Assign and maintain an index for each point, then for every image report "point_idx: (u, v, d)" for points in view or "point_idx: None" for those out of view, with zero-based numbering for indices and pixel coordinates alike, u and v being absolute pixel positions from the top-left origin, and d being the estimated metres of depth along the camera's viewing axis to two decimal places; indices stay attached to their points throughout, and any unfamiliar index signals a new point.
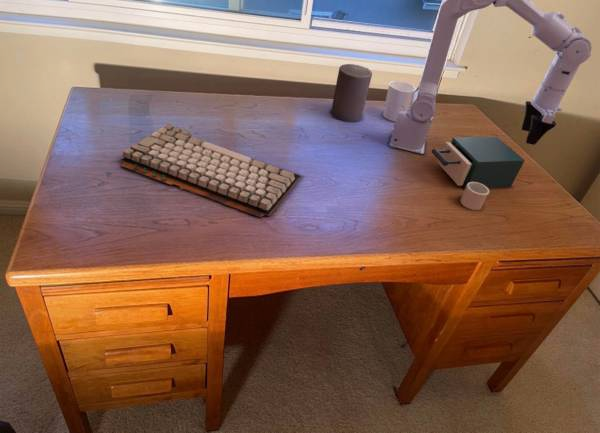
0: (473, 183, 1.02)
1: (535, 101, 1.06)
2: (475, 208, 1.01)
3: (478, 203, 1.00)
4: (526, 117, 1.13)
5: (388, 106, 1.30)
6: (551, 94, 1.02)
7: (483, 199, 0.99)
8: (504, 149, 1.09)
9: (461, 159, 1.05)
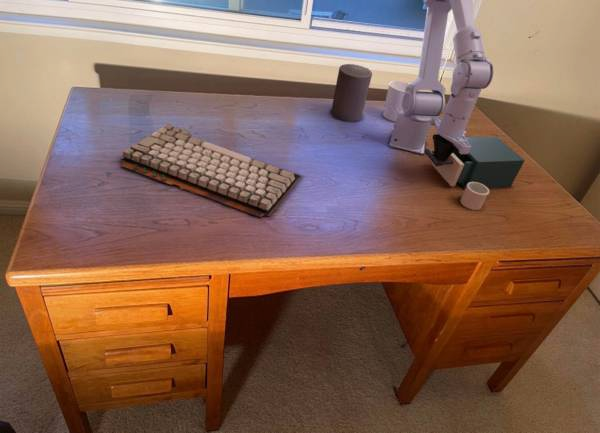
0: (473, 183, 1.02)
1: (443, 131, 1.00)
2: (475, 208, 1.01)
3: (478, 203, 1.00)
4: None
5: (388, 106, 1.30)
6: (460, 123, 0.97)
7: (483, 199, 0.99)
8: (504, 149, 1.09)
9: (454, 159, 1.04)
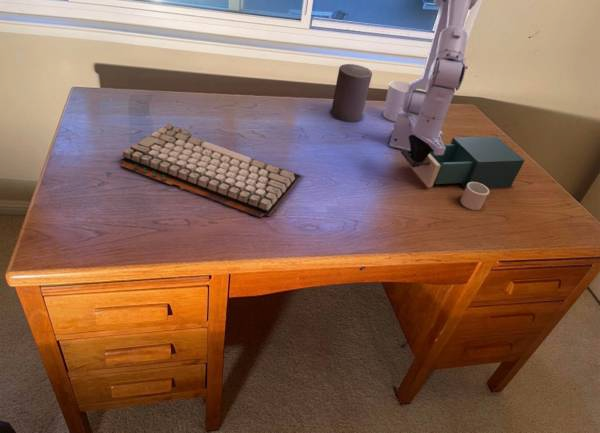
0: (473, 183, 1.02)
1: (418, 132, 0.98)
2: (475, 208, 1.01)
3: (478, 203, 1.00)
4: None
5: (388, 106, 1.30)
6: (434, 123, 0.95)
7: (483, 199, 0.99)
8: (504, 149, 1.09)
9: (430, 160, 1.02)
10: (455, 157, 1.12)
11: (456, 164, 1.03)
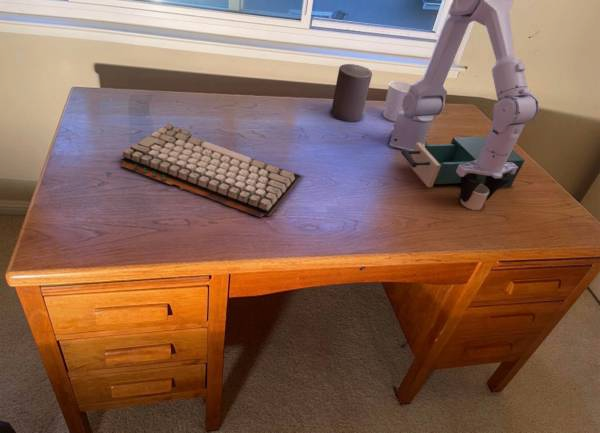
0: None
1: None
2: (475, 208, 1.01)
3: (478, 203, 1.00)
4: (485, 182, 1.02)
5: (388, 106, 1.30)
6: (483, 151, 0.94)
7: (483, 199, 0.99)
8: None
9: (430, 160, 1.02)
10: (455, 157, 1.12)
11: (456, 164, 1.03)
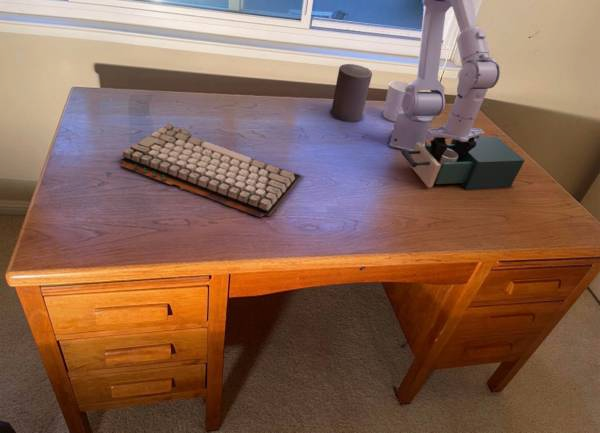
0: None
1: None
2: None
3: None
4: (455, 148, 1.07)
5: (388, 106, 1.30)
6: (450, 116, 0.99)
7: None
8: (504, 149, 1.09)
9: (430, 160, 1.02)
10: None
11: (456, 164, 1.03)
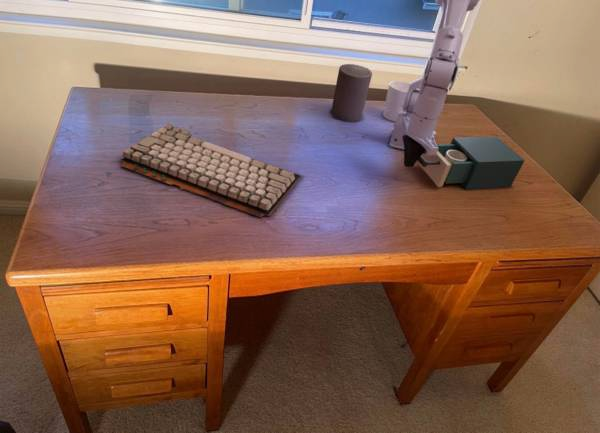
0: (452, 151, 1.09)
1: (412, 132, 0.97)
2: None
3: None
4: None
5: (388, 106, 1.30)
6: (427, 124, 0.95)
7: None
8: (504, 149, 1.09)
9: (441, 160, 1.03)
10: None
11: (466, 163, 1.03)
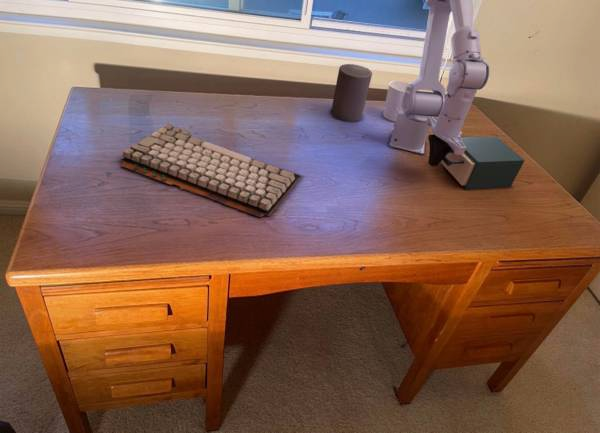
0: None
1: (439, 132, 0.99)
2: None
3: None
4: (432, 152, 1.04)
5: (388, 106, 1.30)
6: (455, 123, 0.97)
7: None
8: (504, 149, 1.09)
9: (465, 159, 1.05)
10: None
11: None
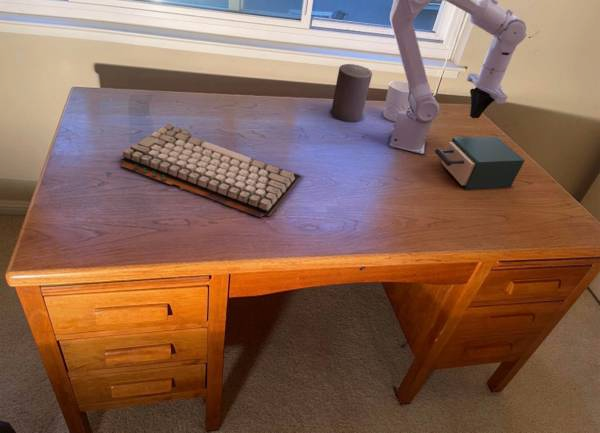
0: None
1: (481, 84, 1.09)
2: None
3: None
4: None
5: (388, 106, 1.30)
6: (497, 75, 1.07)
7: None
8: (504, 149, 1.09)
9: (465, 159, 1.05)
10: None
11: None
